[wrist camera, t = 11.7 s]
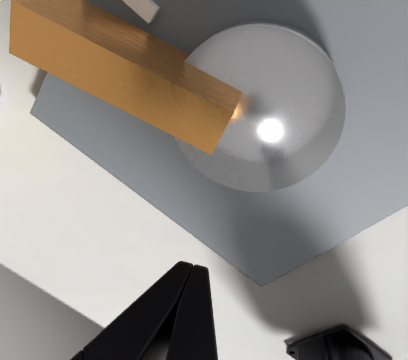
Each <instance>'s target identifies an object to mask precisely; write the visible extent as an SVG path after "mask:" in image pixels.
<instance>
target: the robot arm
mask: <svg viewBox="0 0 408 360" xmlns="http://www.w3.org/2000/svg"><path fill="white" fill-rule="evenodd" d="M286 352H287V354H288V355H290V356H291V357H293V358H294V359H295V360H390V359H389V358H388V357H386V356H385V355H384V354H382V353H381V352H380V351H378V350H377V349H376V348H375V347H373V346H372V345H371V344H369V343H368V342H367V341H366V340H364V339H363V338H362V337H360V336H359V335H358V334H357V333H355V332H354V331H353V330H351V329H350V328H349V327H347V326H344V325H341V326H337V327H335V328H332V329H330V330H327V331H324V332H322V333H319V334H317V335H314V336H312V337H309V338H306V339H304V340H301V341H299V342H296V343H293V344H291V345H288V346H287V347H286ZM70 360H218V355H217V345H216V336H215V327H214V318H213V308H212V299H211V290H210V280H209V271H208V268H207V267H204V266H200V265H194V266H193V264H191V263H188V262H184V261H179V262H178V263H176V264H175V265H174V266H173V267H172V268H171V269H170V270H169V271H168V272H167V273H165V274H164V275H163V276H162V277H161V278H160V279H159V280H158V281H157V282H155V283H154V284H153V285H152V286H151V287H150V288H149V289H148V290H147V291H145V292H144V293H143V294H142V295H141V296H140V297H139V298H138V299H137V300H136V301H134V302H133V303H132V304H131V305H130V306H129V307H128V308H127V309H126V310H124V311H123V312H122V313H121V314H120V315H119V316H118V317H117V318H116V319H114V320H113V321H112V322H111V323H110V324H109V325H108V326H107V327H106V328H104V329H103V330H102V331H101V332H100V333H99V334H98V335H97V336H96V337H95V338H94V339H93V340H91V341H90V342H89V343H88V344H87V345H86V346H85V347H84V348H83V351H82V350H80V351H79V352H78V353H77V354H76V355H75V356H73V357H72V358H71V359H70Z"/></svg>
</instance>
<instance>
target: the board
mask: <svg viewBox="0 0 408 360" xmlns="http://www.w3.org/2000/svg"><path fill="white" fill-rule="evenodd" d="M87 1H89V2H90V3H92V4H94V5H96V6H98V7H100V8H102V9H104V10H106V11H108V12H110V13H112V14H114V15H115V16H117V17H119V18H121V19H123V20H125V21H127V22H129V23H131V24H133V25H135V26H137V27H139V28H140V29H142V30H144V31H146V32H148V33H150V34H152V35H154V36H156V37H158V38H160V39H162V40H163V41H165V42H167V43H169V44H171V45H173V46H175V47H177V48H179V49H181V50H183V51H185V52H187V53H188V54H191V53H192V52H193V51H194V50H195V49H196V48H197V47H199V46H200V45H201V44H202V43H203V42H205V41H206V40H207V39H208V38H210V37H211V36H212V35H214V34H215V33H217V32H218V31H220V30H221V29H223V28H225V27H228V26H230V25H232V24H235V23H238V22H241V21H247V20H253V19H269V20H277V21H281V22H284V23H288V24H291V25H293V26H295V27H297V28H300V29H301V30H303V31H304V32H306V33H308V34H309V35H310V36H312V37H313V38H314V39H315V40H316V41H317V42H318V43H319V44H320V45H321V46H322V47H323V48H324V50H325V51H326V52H327V54H328V56H329V57H330V59H331V60H332V63H333V65H334V67H335V70H336V72H337V74H338V77H339V79H340V81H341V84H342V88H343V92H344V96H345V106H346V110H345V122H344V126H343V131H342V134H341V136H340V139H339V142H338V144H337V146H336V147H335V149H334V151H333V153H332V154H331V155H330V157H329V158H328V160H327V161H326V162H325V163H324V164H323V165H322V166H321V167H320V168H319V169H318V170H317V171H315V172H314V173H313V174H312V175H310V176H309V177H307V178H306V179H304V180H302V181H300V182H298V183H296V184H294V185H292V186H289V187H286V188H283V189H279V190H274V191H267V192H249V191H241V190H236V189H233V188H229V187H226V186H224V185H221V184H219V183H217V182H215V181H213V180H211V179H210V178H208V177H206V176H205V175H204V174H202V173H201V172H200V171H198V170H197V169H196V168H195V167H194V166H193V165H192V164H191V163H190V162H189V160H188V159H187V158H186V157H185V155H184V154H183V152H182V151H181V149H180V147H179V146H178V144H177V142H176V139H175V137H174V136H173V135H171V134H169V133H167V132H165V131H163V130H161V129H159V128H157V127H155V126H153V125H151V124H149V123H147V122H145V121H143V120H141V119H139V118H137V117H135V116H133V115H131V114H129V113H127V112H125V111H123V110H121V109H119V108H117V107H115V106H113V105H111V104H109V103H107V102H105V101H103V100H101V99H100V98H98V97H96V96H94V95H92V94H90V93H88V92H86V91H84V90H82V89H80V88H78V87H76V86H74V85H72V84H70V83H68V82H66V81H64V80H62V79H60V78H58V77H56V76H54V75H52V74H50V73H48V72H47V74H46V76H45V78H44V81H43V83H42V85H41V88H40V90H39V93H38V95H37V97H36V100H35V102H34V104H33V107H32V109H31V111H30V114H32V115H33V116H34V117H36V118H37V119H38V120H40V121H41V122H42V123H44V124H45V125H46V126H48V127H49V128H50V129H52V130H53V131H54V132H56V133H57V134H58V135H60V136H61V137H62V138H64V139H65V140H66V141H68V142H69V143H70V144H72V145H73V146H74V147H76V148H77V149H78V150H80V151H81V152H82V153H84V154H85V155H86V156H88V157H89V158H90V159H92V160H93V161H94V162H96V163H97V164H98V165H100V166H101V167H102V168H104V169H105V170H106V171H108V172H109V173H110V174H112V175H113V176H114V177H116V178H117V179H118V180H120V181H121V182H122V183H124V184H125V185H126V186H128V187H129V188H130V189H132V190H133V191H134V192H136V193H137V194H138V195H140V196H141V197H142V198H144V199H145V200H146V201H148V202H149V203H150V204H152V205H153V206H154V207H156V208H157V209H158V210H160V211H161V212H162V213H164V214H165V215H166V216H168V217H169V218H170V219H172V220H173V221H174V222H176V223H177V224H178V225H180V226H181V227H182V228H184V229H185V230H186V231H188V232H189V233H190V234H192V235H193V236H194V237H195V238H197V239H198V240H199V241H201V242H202V243H203V244H205V245H206V246H207V247H209V248H210V249H211V250H213V251H214V252H215V253H217V254H218V255H219V256H221V257H222V258H223V259H225V260H226V261H227V262H229V263H230V264H231V265H233V266H234V267H235V268H237V269H238V270H239V271H241V272H242V273H243V274H245V275H246V276H247V277H249V278H250V279H251V280H253V281H254V282H255V283H257V284H258V285H259V286H261V287H263V286H265V285H266V284H268V283H270V282H272V281H273V280H275V279H277V278H279V277H281V276H282V275H284V274H286V273H288V272H290V271H291V270H293V269H295V268H297V267H299V266H300V265H302V264H304V263H306V262H308V261H309V260H311V259H313V258H315V257H317V256H318V255H320V254H322V253H324V252H326V251H327V250H329V249H331V248H333V247H334V246H336V245H338V244H340V243H342V242H343V241H345V240H347V239H349V238H351V237H352V236H354V235H356V234H358V233H360V232H361V231H363V230H365V229H367V228H369V227H370V226H372V225H374V224H376V223H378V222H379V221H381V220H383V219H385V218H387V217H388V216H390V215H392V214H394V213H396V212H397V211H399V210H401V209H403V208H404V207H406V206H408V0H87Z"/></svg>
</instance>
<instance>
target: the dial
mask: <svg viewBox="0 0 408 360" xmlns="http://www.w3.org/2000/svg"><path fill="white" fill-rule="evenodd" d="M9 53H11V54H13V55H15V56H17V57H19V58H20V59H22V60H24V61H26V62H28V63H30V64H32V65H34V66H36V67H38V68H40V69H42V70H44V71H46V72H48V73H50V74H52V75H54V76H56V77H58V78H60V79H62V80H64V81H66V82H68V83H70V84H72V85H74V86H76V87H78V88H80V89H82V90H84V91H86V92H88V93H90V94H92V95H94V96H96V97H98V98H100V99H101V100H103V101H105V102H107V103H109V104H111V105H113V106H115V107H117V108H119V109H121V110H123V111H125V112H127V113H129V114H131V115H133V116H135V117H137V118H139V119H141V120H143V121H145V122H147V123H149V124H151V125H153V126H155V127H157V128H159V129H161V130H163V131H165V132H167V133H169V134H171V135H173V136H174V137H175V139H176V142H177V144H178V146H179V147H180V149H181V151H182V152H183V154H184V155H185V157H186V158H187V159H188V160H189V162H190V163H191V164H192V165H193V166H194V167H195V168H196V169H197V170H198V171H200V172H201V173H202V174H204V175H205V176H206V177H208V178H210V179H211V180H213V181H215V182H217V183H219V184H221V185H224V186H226V187H229V188H233V189H236V190H241V191H249V192H267V191H274V190H279V189H283V188H286V187H289V186H292V185H294V184H296V183H298V182H300V181H302V180H304V179H306V178H307V177H309V176H310V175H312V174H313V173H314V172H315V171H317V170H318V169H319V168H320V167H321V166H322V165H323V164H324V163H325V162H326V161H327V160H328V158H329V157H330V155H331V154H332V153H333V151H334V149H335V147H336V146H337V144H338V142H339V139H340V136H341V134H342V131H343V126H344V122H345V110H346V106H345V96H344V92H343V88H342V84H341V81H340V79H339V77H338V74H337V72H336V70H335V67H334V65H333V63H332V60H331V59H330V57H329V56H328V54H327V52H326V51H325V50H324V48H323V47H322V46H321V45H320V44H319V43H318V42H317V41H316V40H315V39H314V38H313V37H312V36H310V35H309V34H308V33H306V32H304V31H303V30H301V29H300V28H297V27H295V26H293V25H291V24H288V23H284V22H281V21H277V20H269V19H253V20H247V21H241V22H238V23H235V24H232V25H230V26H228V27H225V28H223V29H221V30H220V31H218V32H217V33H215V34H214V35H212V36H211V37H210V38H208V39H207V40H206V41H205V42H203V43H202V44H201V45H200V46H199V47H197V48H196V49H195V50H194V51H193V52H192V53H191V54H188V53H187V52H185V51H183V50H181V49H179V48H177V47H175V46H173V45H171V44H169V43H167V42H165V41H163V40H162V39H160V38H158V37H156V36H154V35H152V34H150V33H148V32H146V31H144V30H142V29H140V28H139V27H137V26H135V25H133V24H131V23H129V22H127V21H125V20H123V19H121V18H119V17H117V16H115V15H114V14H112V13H110V12H108V11H106V10H104V9H102V8H100V7H98V6H96V5H94V4H92V3H90V2H89V1H87V0H11V15H10V47H9Z"/></svg>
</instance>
